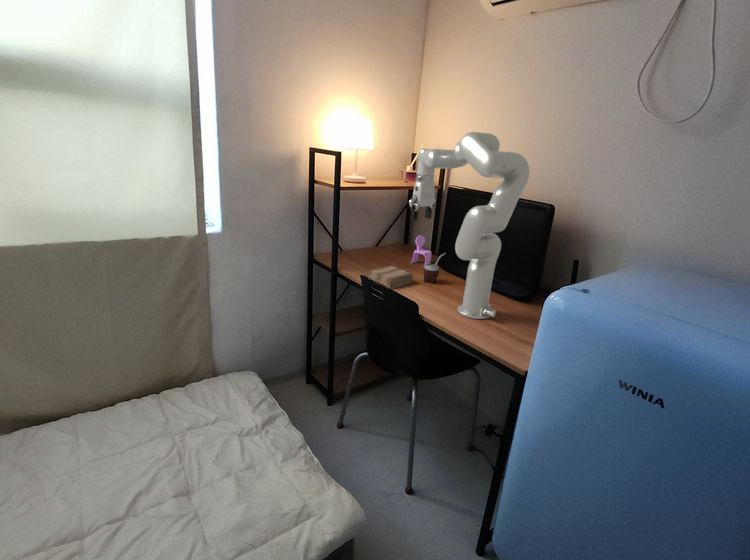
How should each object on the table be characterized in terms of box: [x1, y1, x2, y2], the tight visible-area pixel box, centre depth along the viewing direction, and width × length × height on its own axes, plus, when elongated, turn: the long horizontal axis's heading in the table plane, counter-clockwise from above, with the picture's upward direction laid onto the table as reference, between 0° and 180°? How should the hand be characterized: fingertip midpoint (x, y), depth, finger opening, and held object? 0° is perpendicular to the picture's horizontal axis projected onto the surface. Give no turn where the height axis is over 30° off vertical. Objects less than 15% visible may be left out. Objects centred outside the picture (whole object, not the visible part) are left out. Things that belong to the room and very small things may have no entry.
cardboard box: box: [368, 265, 413, 289], centre depth 186 cm, size 14×14×5 cm
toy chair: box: [410, 234, 433, 268], centre depth 215 cm, size 8×9×15 cm
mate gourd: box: [423, 252, 447, 285], centre depth 188 cm, size 8×8×15 cm
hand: (420, 218), depth 180 cm, fingers open, 9 cm apart
